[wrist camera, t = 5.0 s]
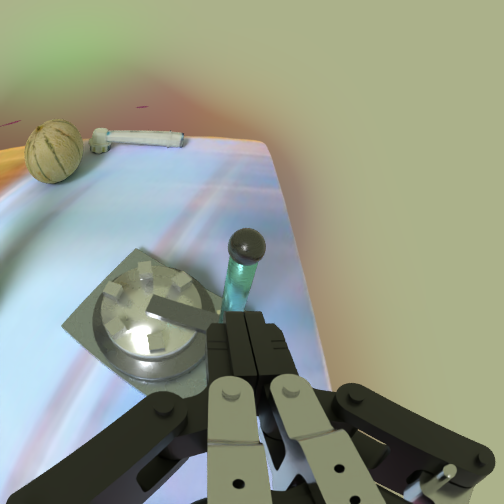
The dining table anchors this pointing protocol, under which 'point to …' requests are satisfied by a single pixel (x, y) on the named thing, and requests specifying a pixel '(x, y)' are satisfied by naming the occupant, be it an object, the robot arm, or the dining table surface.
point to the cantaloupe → (53, 151)
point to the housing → (131, 370)
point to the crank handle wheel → (174, 302)
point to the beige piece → (133, 138)
